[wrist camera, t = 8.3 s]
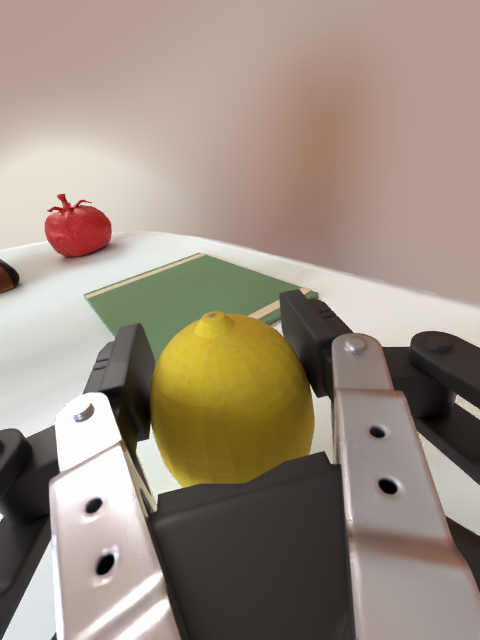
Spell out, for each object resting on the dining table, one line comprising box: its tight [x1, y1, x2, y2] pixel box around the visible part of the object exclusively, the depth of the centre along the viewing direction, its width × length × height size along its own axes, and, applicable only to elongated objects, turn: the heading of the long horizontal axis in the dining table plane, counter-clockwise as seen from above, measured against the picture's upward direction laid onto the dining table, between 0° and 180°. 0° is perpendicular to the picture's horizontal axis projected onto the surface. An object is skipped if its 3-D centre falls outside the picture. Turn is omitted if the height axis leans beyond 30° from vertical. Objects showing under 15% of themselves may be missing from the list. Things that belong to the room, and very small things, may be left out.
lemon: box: [150, 311, 314, 488], centre depth 11 cm, size 6×6×8 cm
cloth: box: [84, 253, 318, 364], centre depth 29 cm, size 15×20×1 cm
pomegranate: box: [45, 194, 112, 257], centre depth 49 cm, size 10×10×9 cm
